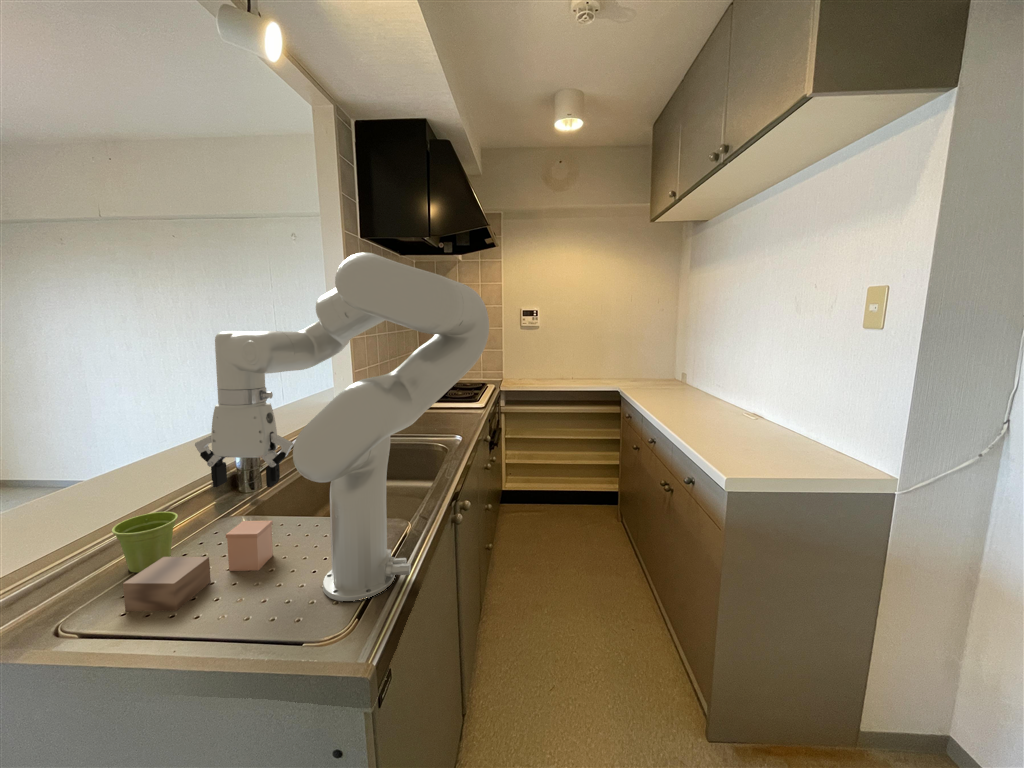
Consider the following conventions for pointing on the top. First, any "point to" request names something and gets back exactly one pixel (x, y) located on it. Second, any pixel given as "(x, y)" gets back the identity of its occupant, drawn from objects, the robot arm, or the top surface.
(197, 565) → the walnut box
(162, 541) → the plant pot
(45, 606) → the top surface
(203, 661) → the top surface
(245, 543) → the peach lipped block
